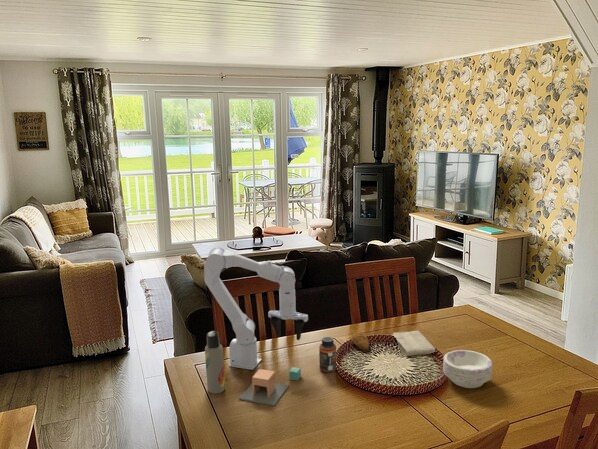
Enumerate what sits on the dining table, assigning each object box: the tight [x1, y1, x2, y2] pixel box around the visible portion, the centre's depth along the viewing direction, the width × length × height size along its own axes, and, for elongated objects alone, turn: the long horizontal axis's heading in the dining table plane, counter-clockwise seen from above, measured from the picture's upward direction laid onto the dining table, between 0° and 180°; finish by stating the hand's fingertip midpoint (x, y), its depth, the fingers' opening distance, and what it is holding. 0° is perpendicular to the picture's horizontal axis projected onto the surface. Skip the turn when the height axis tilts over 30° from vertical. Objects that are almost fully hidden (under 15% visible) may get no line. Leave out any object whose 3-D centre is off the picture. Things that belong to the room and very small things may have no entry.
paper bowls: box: [442, 349, 493, 389], centre depth 160 cm, size 15×15×8 cm
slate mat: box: [239, 382, 290, 407], centre depth 157 cm, size 12×12×1 cm
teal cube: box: [288, 367, 302, 381], centre depth 166 cm, size 3×3×3 cm
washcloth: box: [391, 330, 436, 357], centre depth 188 cm, size 12×18×3 cm, turn 9°
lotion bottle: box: [204, 330, 226, 395], centre depth 158 cm, size 6×6×20 cm
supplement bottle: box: [318, 336, 337, 373], centre depth 170 cm, size 6×6×11 cm
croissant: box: [351, 332, 370, 353], centre depth 189 cm, size 14×7×5 cm, turn 14°
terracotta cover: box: [251, 368, 276, 397], centre depth 156 cm, size 6×6×6 cm
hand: (288, 337), depth 175 cm, fingers open, 7 cm apart
